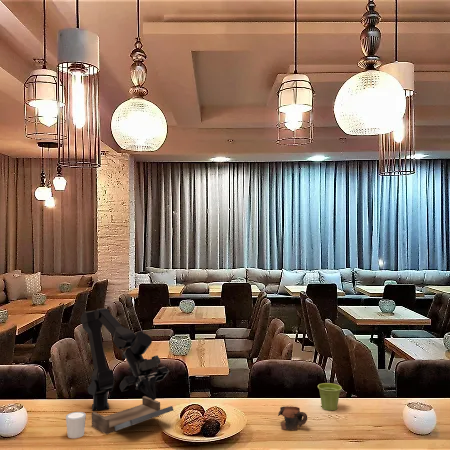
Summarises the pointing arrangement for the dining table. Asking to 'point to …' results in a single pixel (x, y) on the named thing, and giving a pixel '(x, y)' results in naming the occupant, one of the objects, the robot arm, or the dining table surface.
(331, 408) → the plant pot
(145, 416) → the panel
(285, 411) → the pottery mug
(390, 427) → the dining table surface
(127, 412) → the tray
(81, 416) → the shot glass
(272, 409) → the dining table surface
